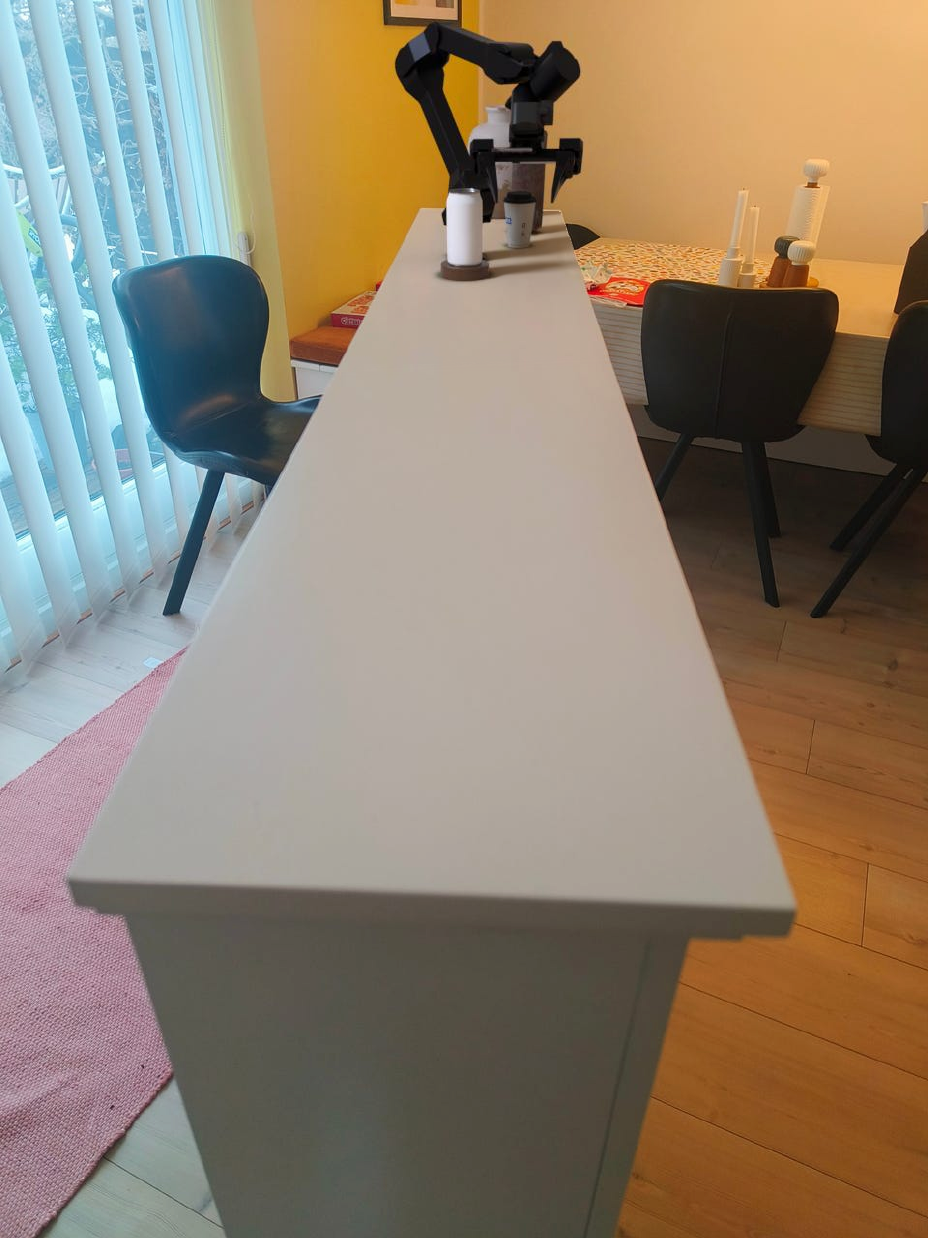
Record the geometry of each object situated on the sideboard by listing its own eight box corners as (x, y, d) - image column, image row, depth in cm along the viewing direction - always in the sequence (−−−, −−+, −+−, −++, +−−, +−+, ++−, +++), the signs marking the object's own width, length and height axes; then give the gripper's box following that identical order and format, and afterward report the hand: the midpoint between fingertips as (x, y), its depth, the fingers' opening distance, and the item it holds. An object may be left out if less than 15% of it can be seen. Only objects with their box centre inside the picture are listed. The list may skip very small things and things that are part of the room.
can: (446, 259, 154) (444, 188, 147) (480, 258, 154) (480, 187, 147) (448, 267, 148) (447, 193, 141) (484, 266, 149) (484, 193, 142)
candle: (546, 229, 186) (551, 127, 175) (538, 236, 181) (542, 131, 169) (514, 228, 188) (517, 127, 177) (505, 234, 183) (507, 130, 171)
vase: (475, 222, 194) (475, 109, 181) (461, 210, 207) (460, 104, 194) (539, 219, 197) (543, 107, 184) (521, 208, 210) (525, 103, 196)
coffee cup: (537, 242, 175) (539, 190, 169) (532, 249, 169) (534, 195, 164) (505, 241, 176) (506, 189, 170) (499, 248, 171) (500, 194, 165)
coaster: (439, 269, 156) (438, 258, 154) (485, 268, 156) (485, 257, 155) (442, 281, 148) (442, 269, 147) (491, 279, 149) (492, 268, 148)
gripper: (469, 80, 131) (465, 167, 128) (586, 78, 130) (584, 166, 127) (473, 133, 142) (469, 213, 139) (581, 131, 141) (579, 213, 138)
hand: (524, 201), depth 136 cm, fingers open, 9 cm apart
